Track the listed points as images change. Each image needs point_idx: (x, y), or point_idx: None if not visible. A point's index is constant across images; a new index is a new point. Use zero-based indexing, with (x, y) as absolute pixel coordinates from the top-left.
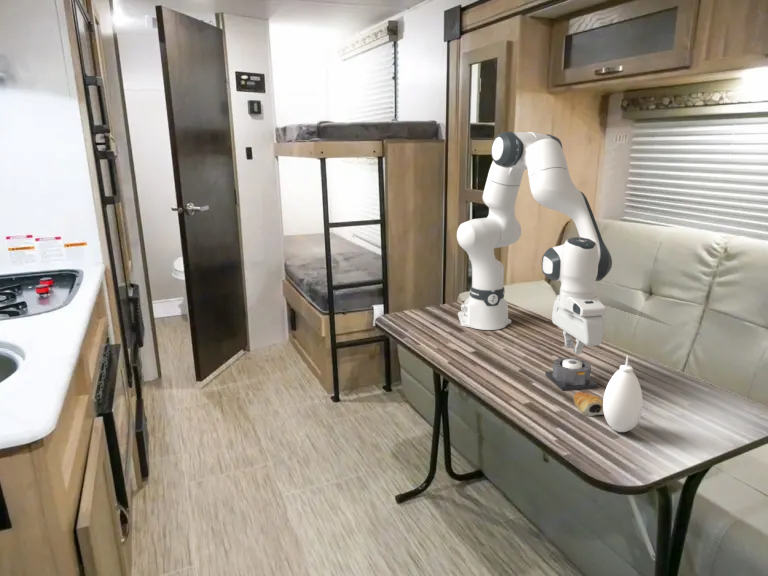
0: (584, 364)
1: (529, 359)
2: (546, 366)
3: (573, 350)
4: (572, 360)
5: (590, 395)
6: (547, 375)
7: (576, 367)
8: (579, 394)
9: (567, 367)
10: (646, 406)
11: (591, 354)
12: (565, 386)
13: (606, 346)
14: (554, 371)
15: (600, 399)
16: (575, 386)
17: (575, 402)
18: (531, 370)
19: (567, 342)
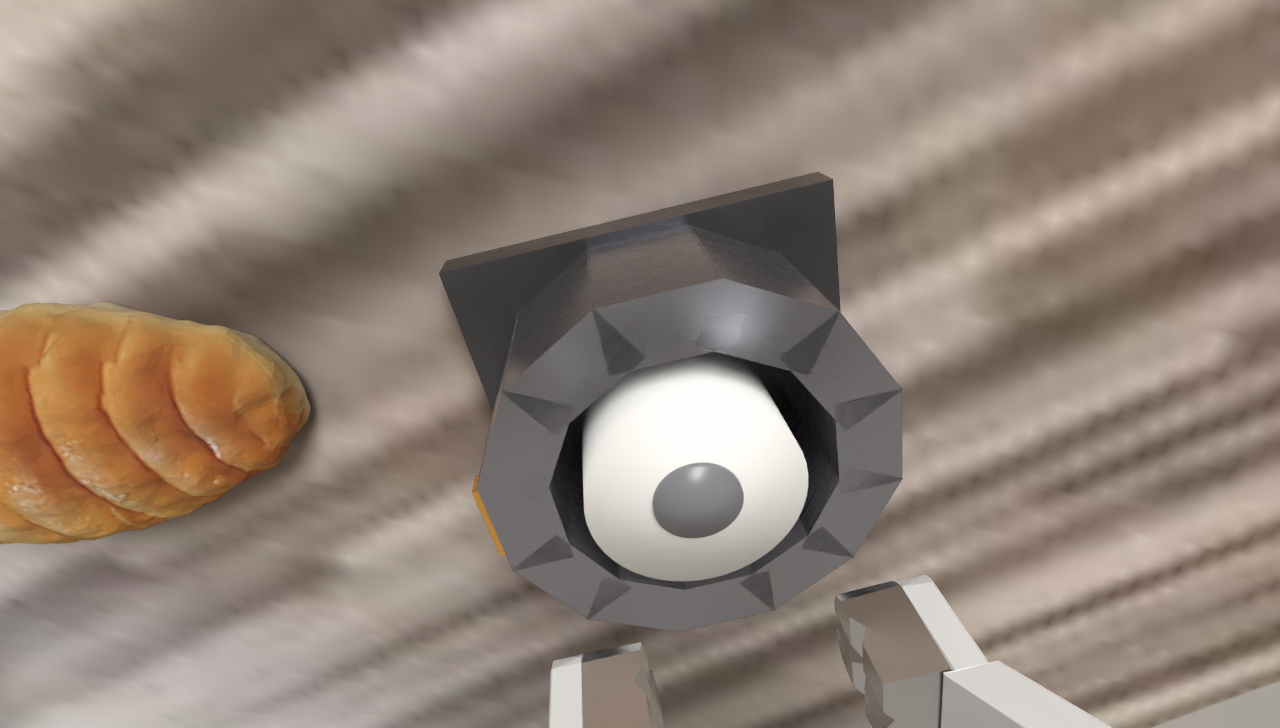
0: (693, 584)
1: (1252, 87)
2: (1022, 234)
3: (636, 660)
4: (760, 510)
5: (25, 484)
6: (774, 187)
7: (585, 509)
8: (103, 390)
9: (614, 420)
10: (296, 714)
11: (1124, 601)
12: (460, 305)
13: (1203, 689)
14: (663, 258)
15: (42, 538)
16: (487, 392)
17: (15, 314)
18: (967, 36)
19: (883, 669)
